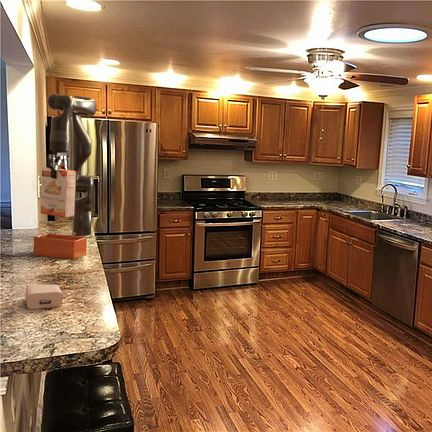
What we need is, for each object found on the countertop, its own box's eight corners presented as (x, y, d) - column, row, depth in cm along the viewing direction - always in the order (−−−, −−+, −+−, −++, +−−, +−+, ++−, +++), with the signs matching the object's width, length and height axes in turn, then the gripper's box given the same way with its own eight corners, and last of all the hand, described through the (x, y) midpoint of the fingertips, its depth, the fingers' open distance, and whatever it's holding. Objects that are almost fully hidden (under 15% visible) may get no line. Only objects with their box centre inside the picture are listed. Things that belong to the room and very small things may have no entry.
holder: (47, 250, 213) (48, 233, 212) (86, 254, 212) (87, 237, 211) (33, 254, 203) (33, 236, 202) (73, 259, 201) (74, 241, 200)
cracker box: (39, 214, 207) (41, 167, 205) (50, 213, 213) (51, 167, 210) (64, 218, 203) (66, 170, 200) (74, 216, 209) (76, 170, 206)
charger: (56, 292, 154) (61, 306, 142) (24, 295, 149) (27, 309, 137) (56, 279, 154) (62, 291, 141) (24, 280, 149) (27, 293, 136)
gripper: (58, 140, 196) (57, 179, 198) (76, 142, 211) (75, 178, 213) (41, 139, 197) (40, 178, 199) (60, 140, 211) (59, 176, 213)
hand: (58, 178), depth 206 cm, fingers closed on cracker box, 6 cm apart
